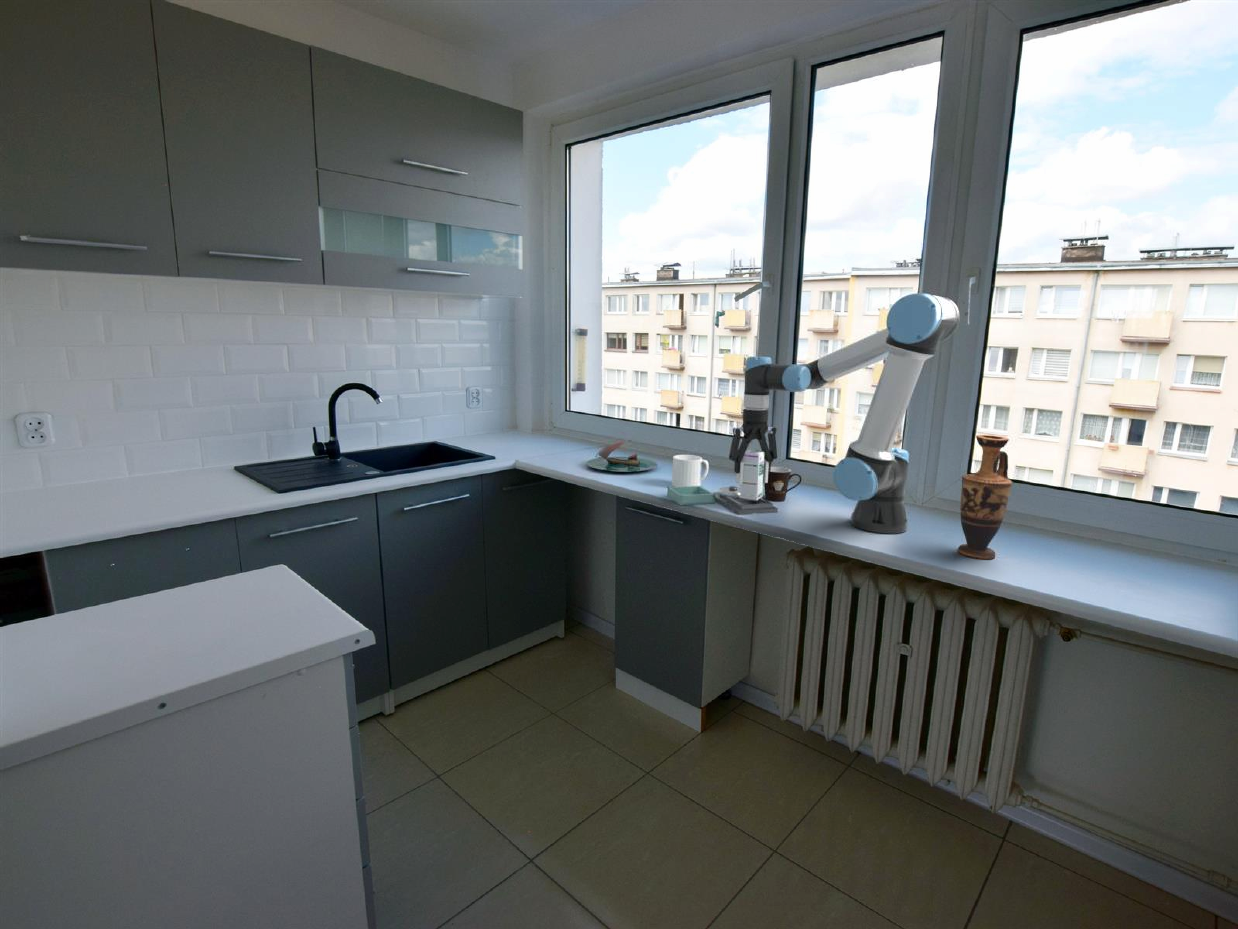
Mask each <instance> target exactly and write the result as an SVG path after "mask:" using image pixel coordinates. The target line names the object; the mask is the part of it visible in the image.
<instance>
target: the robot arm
mask: <svg viewBox="0 0 1238 929" xmlns="http://www.w3.org/2000/svg"><path fill="white" fill-rule="evenodd" d="M960 319H961V314H960V311H959V308H958V306H957V304H956V303H955V302H954V301H953V300H951V299H950V298H949V297H946V296H942V295H933V294H930V293H924V292H918V293H911V294H908V295H907V294H906V295H905V296H903V297H900V298H899V299H898V300H897V301H896V302H894V303H893V305H892V306H891V307H890V309H889V311H888V313H887V315H886V321H885V322H886V328H884V329H882V330H880V331H877V332H875V333H873V334H870V335H868V336H866V337H864V338H862V339H860V340H857V341H856V342H853V343H850V344H849V345H846V346H844V347H842V348H839V349H837V350H835V351H833V352H830V353H829V354H826V355H824V356H822V357H820V358H818V359H815V360H813V361H811V362H808V363H800V364H798V363H797V364H782V363H781V364H775V363H772V358H771V357H770V356H748V357H747V358H746V360H745V365H744V366H745V368H744V388H743V390H744V392H743V404H742V405H743V406H742V407H743V408H744V409H742V425H741V426H739V427H733V428H732V434H733V436H732V441H731V444H730V445H731V446H730V450H729V455H728V459H729V460H730V461H733V462H734V469H733V470H734V471H733V472H734V473H736V475H735V476H736V478H735V479H736V480H735V482H736V484H739V485H740V484H742V483H743V463H742V462H741V461H742V459H743V456H744V454H745V452H746V451H747V450H748V447H749V445H750V443H751V442H752V441H753V440H757V441H758V443H759V446H760V449H761V450H760V451H764V452H765V462H764V482H765V483H768V471H770V470H771V467H772V462H773V461H774V460H777V459H778V449H777V439H776V438H777V437H776V433H777V427H774V426H769V425H768V421H769V410H768V409H769V407H770V392H771V391H783V392H790V393H795V392H797V393H799V392H800V393H801V392H805V391H806V390H817V389H820V388H822V387H825V386H826V384H828V383H830V382H832V381H834V380H836V379H839V378H841V377H844V376H847V375H849V374H852V373H854V372H856V371H859V370H861V369H863V368H867V367H869V366H871V365H874V364H876V363H878V362H881V361H883V360H885V363H884V365H883V368H882V369H881V373H880V376H879V378H878V382H877V385H876V388H875V389H874V390H875V391H874V394H873V396H872V399H871V400H870V401H871V402H870V405H869V407H868V409H867V413H866V415H865V418H864V421H863V424H862V427H861V430H860V432H859V435H858V437H857V439H856V440H854V441H851V442H850V444H849V446H848V447H847V448H848V449H847V450H846V454H845V456H844V458H843V459H841V460H839V461H838V462H837V464H836V465H835V466H834V468H833V472H832V481H833V484H834V485H835V488H836V490H837V491H838V492H839V494H840V495H841V496H843V497H844V498H846V499H848V500H852V501H857V502H856V504H855V507H854V509H853V511H852V513H851V514H850V524H851V525H852V526H853V527H855V528H857V529H860V530H862V531H863V530H864V531H868V532H873V533H877V534H878V533H879V534H887V535H888V534H902V533H905V532H907V530H908V519H907V513H906V509H905V508H906V507H905V504H904V501H905V492H906V491H905V490H906V484H907V477H908V469H909V468H908V467H909V464H910V462H909V457H910V455H909V452H908V450H906V449H902V448H897V447H893V445H894V443H895V440H896V438H897V435H898V432H899V431H900V427H901V425H902V422H903V420H904V416H905V414H906V411H907V409H908V406H909V403H910V400H911V398H912V395H913V393H914V390H915V388H916V384H917V383H918V380H919V377H920V375H921V371H922V369H923V366H924V363H925V362H926V360H928V359H930V358H932V357H934V356H935V355H936V351H937V349H938V346H939V343H941V342H943V341H945V340H947V339H949V338H950V337H951V336H952V335H953V334H955V333H956V331H957V329H958V327H959V325H960V321H961V320H960ZM742 433H743V436H741V435H742ZM766 433H767V438H766ZM741 437H742V439H741ZM741 440H742V441H741ZM767 441H768V443H767ZM740 442H741V443H740ZM764 482H763V483H764Z"/></svg>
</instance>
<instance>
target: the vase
mask: <svg viewBox="0 0 1238 929" xmlns="http://www.w3.org/2000/svg"><path fill="white" fill-rule="evenodd" d="M975 438H976V441H977V443H978V444H977V445H979V446H980V447H981V449H982V455H981V463H980V467H979V469H978V471H976V472H974V473H969V474H968V473H967V474H963V475H962V477H961V494H960V495H961V496H960V508H959V509H960V510H959V511H960V524H961V529H962V532H963V535H964V538H965V542H966V543H963V544H960V545H959V546H958V548H957V552H958V553H959V554H961V555H963V556H966V557H968V558H969V557H970V558H973V559H980V560H992V559H995V558H996V551H994V549H992V548H989V544H990V543H991V542H992V540H993V539H994V537H995V536H996V534H997V533H998V532H999V530H1000V527H1001V526H1002V523H1003V520H1004V518H1005V514H1006V511H1007V507H1008V506H1007V505H1008V502H1009V498H1010V495H1011V494H1010V493H1011V490H1012V486H1013V481H1012V480H1011V479H1010V478H1009V477H1008V475H1009V474H1008V472H1009V471H1008V470H1009V456H1008V453H1007V452H1005V451H1002V450H1001V449H1002V448H1004V447H1005V446H1006V445H1007V444H1008V442H1009V440H1010V439H1009V438H1007V437H1004V436H999V435H991V434H978V435H975Z"/></svg>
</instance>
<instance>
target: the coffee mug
mask: <svg viewBox="0 0 1238 929" xmlns="http://www.w3.org/2000/svg"><path fill="white" fill-rule="evenodd" d="M791 472H792V470H791V469H789V468H786V467H781V466H780V467H779V466H771V470H770V471H768V483H765V482H763V487H764V500H766V501H768V502H773V503H781V502H785V501H786V497H787V494H788V492H790V491H792V490H794V489H795V488H797V487H798V486H799V485H800V484H801V483H802V476H801V475H800V474H797V473H793V474H791ZM794 476H797V477H798V478H799V481H798V482H797V484H795V485H793V486H792V487H789V481H790V480H791V479H792V478H793V477H794ZM788 487H789V488H788Z"/></svg>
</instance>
